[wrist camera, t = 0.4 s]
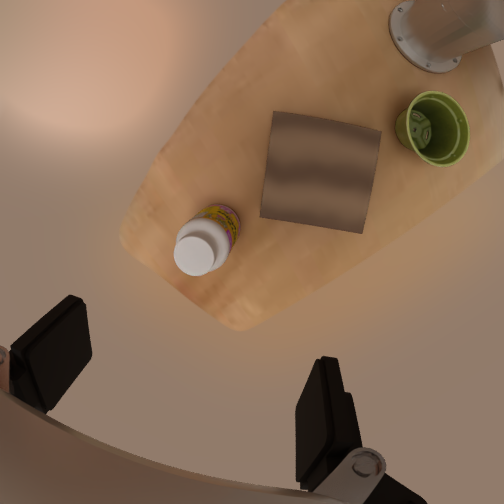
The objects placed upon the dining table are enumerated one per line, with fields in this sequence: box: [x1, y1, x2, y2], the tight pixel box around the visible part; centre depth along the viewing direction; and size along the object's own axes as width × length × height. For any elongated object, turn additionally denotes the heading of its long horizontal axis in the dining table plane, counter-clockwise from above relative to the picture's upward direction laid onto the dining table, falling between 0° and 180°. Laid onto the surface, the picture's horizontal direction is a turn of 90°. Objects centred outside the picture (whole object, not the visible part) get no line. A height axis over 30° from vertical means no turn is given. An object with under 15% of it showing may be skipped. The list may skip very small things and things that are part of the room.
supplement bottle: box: [174, 204, 240, 276], centre depth 38 cm, size 7×7×13 cm
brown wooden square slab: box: [260, 111, 381, 234], centre depth 38 cm, size 14×14×4 cm
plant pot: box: [395, 91, 470, 167], centre depth 32 cm, size 9×9×9 cm
